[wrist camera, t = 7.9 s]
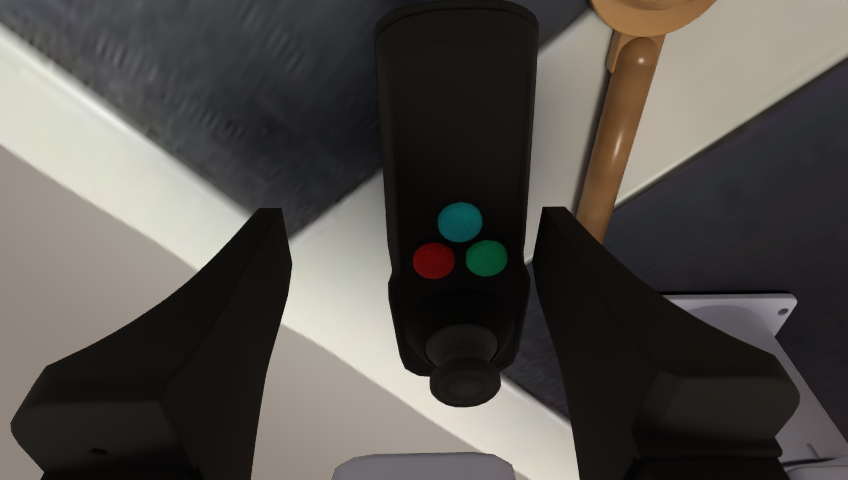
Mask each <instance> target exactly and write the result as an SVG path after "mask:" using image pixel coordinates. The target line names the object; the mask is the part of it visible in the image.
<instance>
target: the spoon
mask: <svg viewBox="0 0 848 480" xmlns="http://www.w3.org/2000/svg"><path fill="white" fill-rule="evenodd" d="M715 1H716V0H588V2H589V3H590V5H591V7H592V8H593V10H594V11H595V12H596V13H597V14H598V16H599V17H600V18H601V19H602V20H603V21H604V22H605V23H606V24H607V25H608V26H610V27H611V28H612V29H614V33H613V37H612V41H611V45H610V49H609V54H608V58H607V62H606V67H607V68H608V69H609V71H610V72H611V73H612V75H611V79H610V83H609V87H608V91H607V95H606V99H605V103H604V107H603V111H602V115H601V119H600V123H599V127H598V131H597V135H596V139H595V143H594V147H593V151H592V155H591V159H590V163H589V167H588V171H587V175H586V179H585V183H584V187H583V191H582V195H581V199H580V203H579V207H578V211H577V215H576V219H577V220H578V221H579V222H580V223H581V224H582V225H583V226H584V227H585V229H586V230H587V231H588V232H589V233H590V234H591V235H592V236H593V237H594V238H595V239H596V240H597V241H598V242H599V243H600V244H601V245H602V244H603V241H604V237H605V234H606V231H607V227H608V224H609V221H610V217H611V214H612V211H613V208H614V204H615V201H616V198H617V194H618V191H619V188H620V184H621V181H622V178H623V175H624V171H625V168H626V165H627V161H628V158H629V155H630V151H631V148H632V145H633V142H634V138H635V135H636V132H637V128H638V125H639V122H640V118H641V115H642V112H643V109H644V105H645V102H646V99H647V95H648V92H649V89H650V85H651V82H652V79H653V76H654V72H655V69H656V66H657V62H658V58H659V55H660V52H661V48H662V45H663V42H664V39H665V35H666V33H670V32H673V31H675V30H677V29H679V28H682V27H683V26H685V25H687V24H689V23H690V22H692V21H693V20H695V19H696V18H698V17H699V16H700V15H701V14H703V13H704V12H705V11H706V10H707V9H708V8H709V7H710V6H711V5H712V4H713V3H714V2H715Z"/></svg>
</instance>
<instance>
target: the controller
mask: <svg viewBox="0 0 848 480" xmlns="http://www.w3.org/2000/svg"><path fill="white" fill-rule="evenodd" d="M373 34H374V48H375V61H376V76H377V90H378V105H379V120H380V135H381V150H382V165H383V179H384V194H385V210H386V226H387V242H388V249H389V255H390V260H391V266H392V274H391V276H390V279H389V282H388V296H389V303H390V309H391V314H392V319H393V324H394V329H395V334H396V339H397V344H398V349H399V355H400V358H401V360H402V363H403V365H404V367H405V369H407V370H409V371H410V372H412V373H414V374H416V375H418V376H427V377H430V391H431V393H432V395H433V396H434V397H435V398H436V399H437V400H439V401H440V402H442V403H444V404H446V405H448V406H453V407H473V406H478V405H481V404H483V403H486V402H487V401H489V400H490V399H492V398H493V397H494V396H495V395H496V394H497V392H498V391H499V389H500V387H501V379H500V373H499V372H500V371H502V370H504V369H505V368H507V367H508V366H510V365H511V364H513V362H514V360H515V357H516V355H517V353H518V350H519V345H520V340H521V335H522V330H523V325H524V320H525V315H526V310H527V305H528V300H529V295H530V275H529V273H528V270H527V268H526V266H525V263H524V253H523V251H524V245H525V235H526V220H527V206H528V191H529V177H530V162H531V147H532V133H533V118H534V104H535V89H536V72H537V53H538V36H539V23H538V21H537V18H536V16H535V15H534V14H533V13H532V12H530V11H529V10H528V9H527V8H525V7H523V6H521V5H519V4H516V3H513V2H508V1H503V0H446V1H437V2H428V3H419V4H411V5H407V6H404V7H400V8H396V9H394V10H392V11H390V12H389V13H387V14H385V15H384V16H383V17H382V18H381V19H380V20H379V21H378V22H377V24H376V26H375V29H374V31H373Z"/></svg>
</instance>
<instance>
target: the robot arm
mask: <svg viewBox="0 0 848 480" xmlns="http://www.w3.org/2000/svg"><path fill="white" fill-rule="evenodd" d="M532 265H533V271H534V277H535V283H536V289H537V294H538V297H539V300H540V303H541V307H542V310H543V313H544V316H545V320H546V323H547V326H548V329H549V332H550V335H551V338H552V342H553V345H554V348H555V351H556V354H557V357H558V361H559V365H560V369H561V373H562V378H563V383H564V388H565V393H566V398H567V403H568V409H569V415H570V420H571V426H572V432H573V438H574V444H575V451H576V457H577V464H578V470H579V478H580V480H848V444H847V442H846V441H845V439H844V438H843V436H842V435H841V433H840V432H839V430H838V429H837V428H836V426H835V425H834V423H833V422H832V420H831V419H830V417H829V416H828V414H827V413H826V411H825V410H824V409H823V407H822V406H821V404H820V403H819V401H818V400H817V398H816V397H815V395H814V394H813V393H812V391H811V390H810V388H809V387H808V385H807V384H806V382H805V381H804V379H803V378H802V376H801V375H800V374H799V372H798V371H797V369H796V368H795V366H794V365H793V363H792V362H791V360H790V359H789V358H788V356H787V355H786V353H785V352H784V350H783V349H782V347H781V346H780V344H779V343H778V341H777V340H776V339H775V335H776V334H777V332H778V331H779V329H780V328H781V326H782V325H783V323H784V322H785V320H786V319H787V317H788V316H789V315H790V313H791V312H792V310H793V309H794V307H795V306H796V304H797V300H796V298H795V297H794V296H793V295H792V294H718V295H661V294H659V293H658V292H657V291H655V290H654V289H653V288H651V287H650V286H648V285H647V284H646V283H644V282H643V281H642V280H641V279H639V278H638V277H637V276H636V275H634V274H633V273H632V272H631V271H630V270H628V269H627V268H626V267H625V266H624V265H623V264H622V263H620V262H619V261H618V260H617V259H616V258H615V257H614V256H613V255H612V254H610V253H609V252H608V251H607V250H606V249H605V248H604V247H603V246H602V245H601V244H600V243H599V242H598V241H597V240H596V239H595V238H594V237H593V236H592V235H591V234H590V233H589V232H588V231H587V230H586V229H585V227H584V226H583V225H582V224H581V223H580V222H579V221H578V220H577V219H576V218H575V217H574V216H573V215H572V214H571V213H570V212H569V211H568V210H567V208H566V207H543V208H542V213H541V218H540V223H539V229H538V234H537V239H536V244H535V249H534V254H533V259H532ZM291 270H292V259H291V254H290V249H289V244H288V239H287V234H286V228H285V223H284V218H283V213H282V208H259V209H258V210H257V211H256V212H255V213H254V214H253V215H252V216H251V217H250V218H249V220H248V221H247V222H246V223H245V224H244V225H243V226H242V227H241V229H240V230H239V231H238V232H237V233H236V234H235V235H234V236H233V237H232V239H231V240H230V241H229V242H228V243H227V244H226V245H225V246H224V247H223V248H222V249H221V250H220V251H219V252H218V253H217V254H216V255H215V256H214V257H213V258H212V259H211V260H210V261H209V262H208V263H207V264H206V265H205V266H204V267H203V268H202V269H201V270H200V271H199V272H198V273H197V274H196V275H194V276H193V277H192V278H191V279H190V280H189V281H188V282H187V283H185V284H184V285H183V286H182V287H181V288H179V289H178V290H177V291H175V292H174V293H173V294H171V295H170V296H169V297H168V298H166V299H165V300H163V301H162V302H161V303H159V304H158V305H156V306H155V307H153V308H152V309H150V310H149V311H147V312H146V313H144V314H143V315H141V316H140V317H138V318H137V319H135V320H134V321H132V322H131V323H129V324H127V325H126V326H124V327H122V328H121V329H119V330H117V331H116V332H114V333H112V334H110V335H108V336H107V337H105V338H103V339H101V340H99V341H98V342H96V343H94V344H92V345H90V346H88V347H86V348H84V349H82V350H80V351H78V352H75V353H73V354H71V355H69V356H67V357H65V358H63V359H61V360H59V361H57V362H54V363H52V364H50V365H48V366H46V367H45V369H44V370H43V371H42V373H41V374H40V376H39V377H38V379H37V380H36V382H35V383H34V385H33V386H32V388H31V390H30V391H29V393H28V394H27V396H26V398H25V399H24V401H23V403H22V404H21V406H20V408H19V409H18V411H17V412H16V414H15V416H14V417H13V419H12V421H11V423H10V424H11V432H12V434H13V436H14V438H15V439H16V440H17V442H18V444H19V445H20V446H21V447H22V448H23V449H24V450H25V452H26V453H27V454H28V455H29V456H30V457H31V458H32V459H33V460H34V461H35V462H36V464H37V465H38V466H39V467H40V468H41V469H42V470H43V471H44V474H43V476H42V478H41V480H251V473H252V465H253V457H254V450H255V441H256V435H257V427H258V421H259V415H260V408H261V402H262V396H263V390H264V384H265V378H266V373H267V369H268V365H269V361H270V357H271V353H272V350H273V347H274V343H275V340H276V336H277V332H278V329H279V326H280V322H281V319H282V315H283V312H284V308H285V304H286V301H287V297H288V292H289V285H290V278H291ZM331 480H516V479H515V474H514V470H513V467H512V465H511V464H510V463H508V462H507V461H505V460H503V459H501V458H499V457H498V456H496V455H493V454H485V453H477V452H463V453H462V452H458V453H414V454H413V453H410V454H373V455H366V456H359V457H354V458H352V459H350V460H348V461H346V462H345V463H343V464H341V465H339V466H338V467H337V468H336V469H335V471H334V474H333V477H332V479H331Z"/></svg>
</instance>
